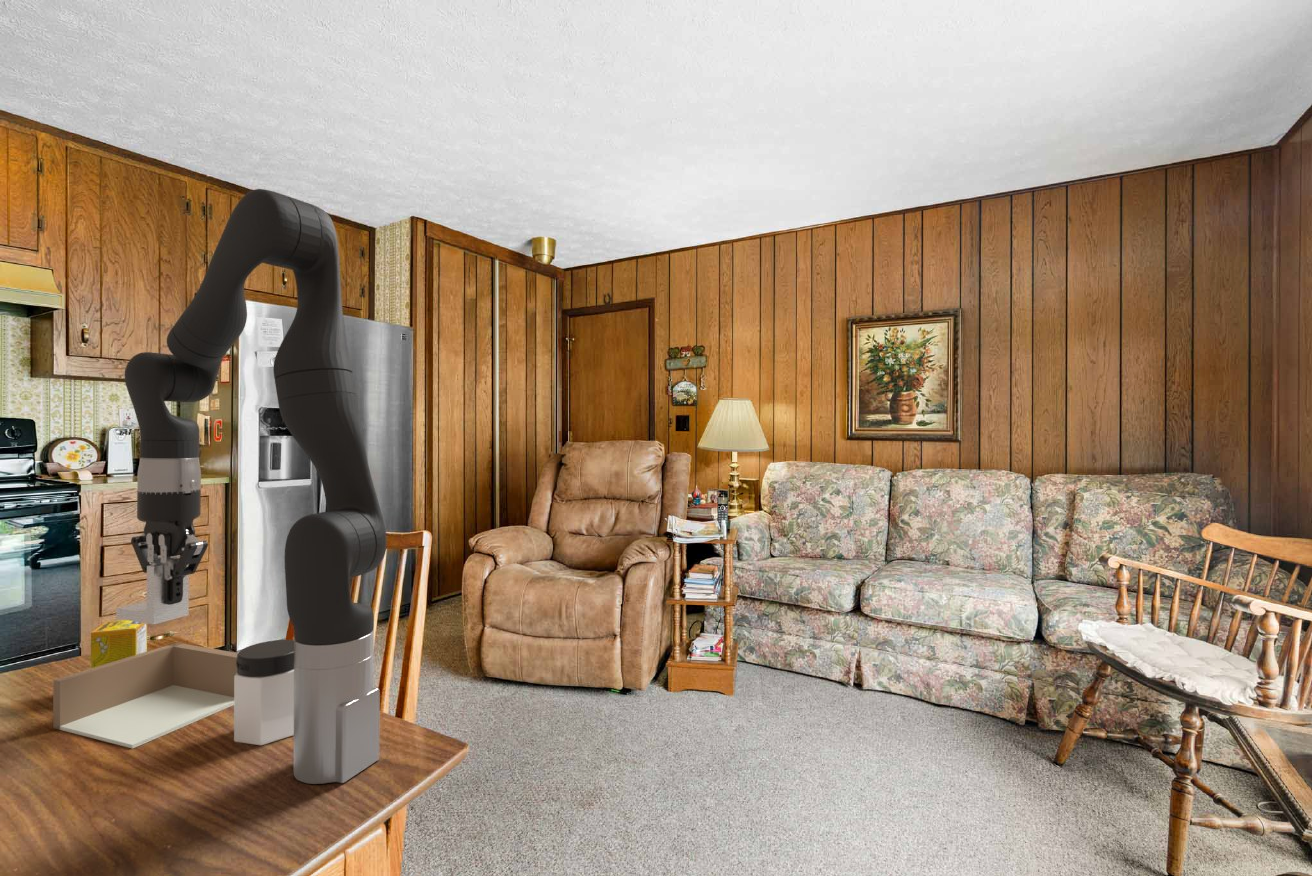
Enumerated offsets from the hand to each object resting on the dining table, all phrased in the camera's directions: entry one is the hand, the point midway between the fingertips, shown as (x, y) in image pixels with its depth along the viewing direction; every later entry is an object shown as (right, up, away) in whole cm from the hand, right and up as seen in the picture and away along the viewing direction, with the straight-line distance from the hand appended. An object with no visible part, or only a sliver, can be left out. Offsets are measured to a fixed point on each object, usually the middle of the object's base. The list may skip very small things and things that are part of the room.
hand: (168, 602), depth 94 cm
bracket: (-3, -2, +1) cm, 4 cm away
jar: (+18, -18, -4) cm, 25 cm away
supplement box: (-16, -17, +10) cm, 26 cm away
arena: (-3, -17, +2) cm, 18 cm away
